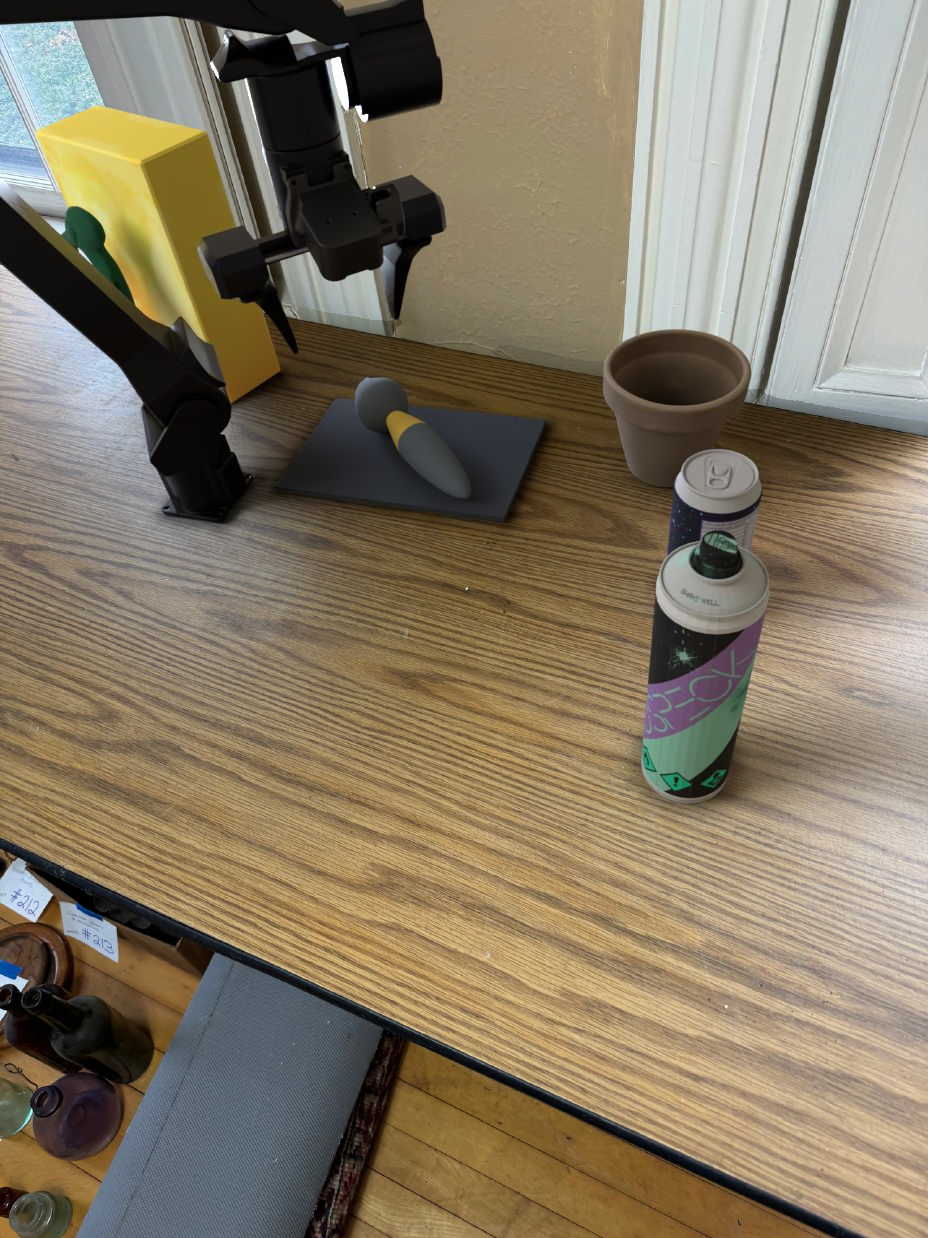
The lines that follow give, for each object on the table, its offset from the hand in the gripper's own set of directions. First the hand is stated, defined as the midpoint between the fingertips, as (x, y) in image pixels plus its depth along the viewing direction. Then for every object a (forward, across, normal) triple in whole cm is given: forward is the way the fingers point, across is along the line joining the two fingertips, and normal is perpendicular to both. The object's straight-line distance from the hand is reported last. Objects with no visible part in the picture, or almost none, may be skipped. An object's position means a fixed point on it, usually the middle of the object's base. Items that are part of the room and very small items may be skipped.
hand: (345, 334), depth 73 cm
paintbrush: (+11, +3, -4) cm, 12 cm away
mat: (+12, +3, -4) cm, 13 cm away
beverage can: (+12, +15, -32) cm, 37 cm away
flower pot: (+12, +21, -18) cm, 30 cm away
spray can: (+12, +5, -43) cm, 45 cm away
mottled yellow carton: (+12, -12, +24) cm, 29 cm away
